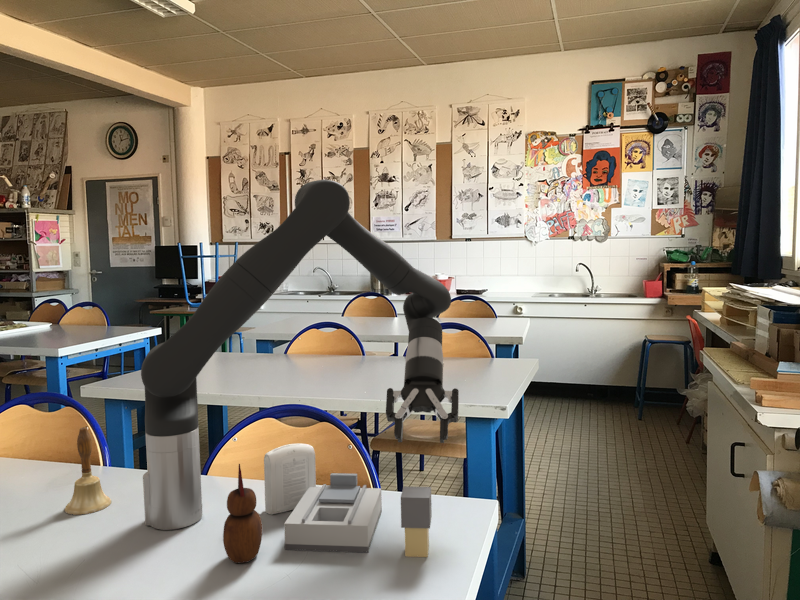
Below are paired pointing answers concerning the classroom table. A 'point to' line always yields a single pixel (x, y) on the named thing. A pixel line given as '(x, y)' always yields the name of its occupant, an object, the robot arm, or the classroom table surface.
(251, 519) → the wooden figurine
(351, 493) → the shutter
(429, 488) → the plug
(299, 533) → the socket
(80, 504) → the hand bell
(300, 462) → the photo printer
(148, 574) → the classroom table surface
